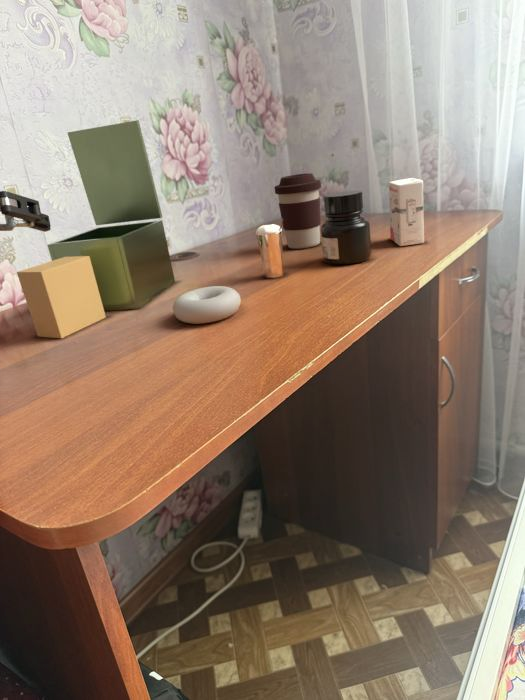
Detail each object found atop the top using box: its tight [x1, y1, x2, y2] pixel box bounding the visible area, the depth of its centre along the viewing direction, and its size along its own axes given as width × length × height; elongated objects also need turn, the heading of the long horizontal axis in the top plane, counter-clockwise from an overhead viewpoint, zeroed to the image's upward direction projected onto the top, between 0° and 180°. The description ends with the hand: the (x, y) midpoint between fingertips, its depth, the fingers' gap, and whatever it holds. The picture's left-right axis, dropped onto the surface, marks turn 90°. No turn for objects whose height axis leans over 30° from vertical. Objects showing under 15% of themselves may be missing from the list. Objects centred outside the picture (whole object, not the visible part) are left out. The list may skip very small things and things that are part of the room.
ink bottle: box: [320, 190, 372, 266], centre depth 91 cm, size 10×9×12 cm
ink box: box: [388, 177, 425, 247], centre depth 99 cm, size 9×5×12 cm, turn 0°
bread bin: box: [47, 219, 176, 312], centre depth 88 cm, size 16×14×12 cm
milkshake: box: [255, 218, 284, 279], centre depth 88 cm, size 4×5×10 cm
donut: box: [172, 285, 242, 325], centre depth 73 cm, size 10×4×10 cm
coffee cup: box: [274, 172, 322, 250], centre depth 109 cm, size 10×10×15 cm
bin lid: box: [67, 119, 163, 226], centre depth 89 cm, size 16×14×1 cm
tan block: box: [16, 256, 107, 339], centre depth 76 cm, size 9×5×10 cm, turn 151°
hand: (21, 231), depth 69 cm, fingers open, 8 cm apart
